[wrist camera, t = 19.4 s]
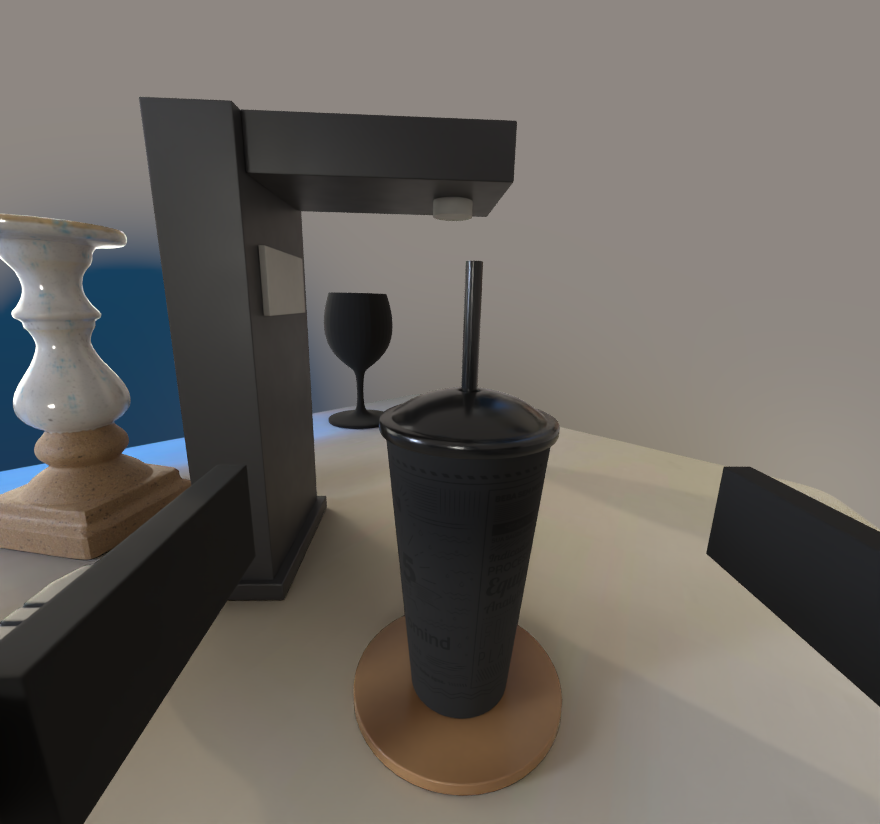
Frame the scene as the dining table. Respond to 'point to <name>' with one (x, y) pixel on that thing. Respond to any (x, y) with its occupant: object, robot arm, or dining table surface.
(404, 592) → the drinking cup
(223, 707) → the dining table surface
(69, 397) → the candle holder
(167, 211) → the coffee maker
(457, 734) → the coaster
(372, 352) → the wine glass
